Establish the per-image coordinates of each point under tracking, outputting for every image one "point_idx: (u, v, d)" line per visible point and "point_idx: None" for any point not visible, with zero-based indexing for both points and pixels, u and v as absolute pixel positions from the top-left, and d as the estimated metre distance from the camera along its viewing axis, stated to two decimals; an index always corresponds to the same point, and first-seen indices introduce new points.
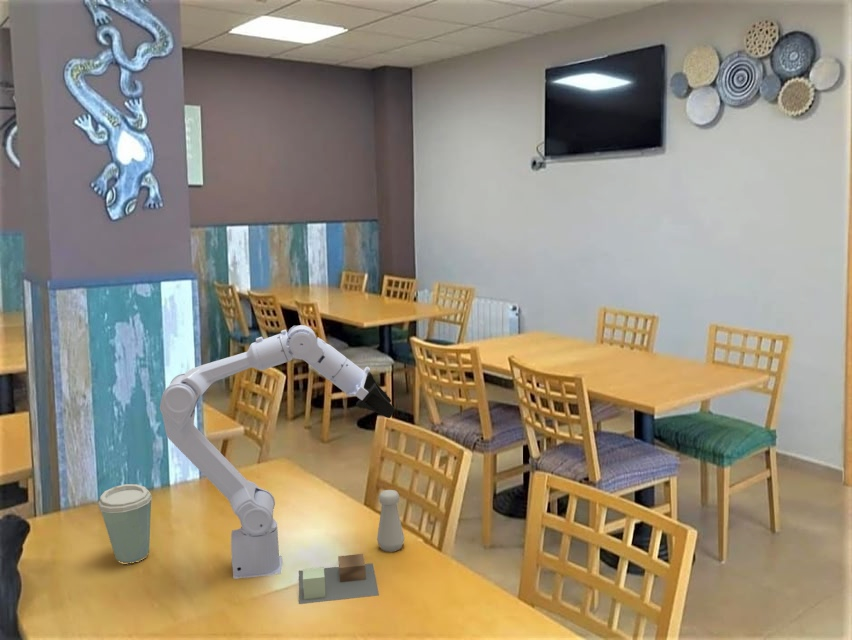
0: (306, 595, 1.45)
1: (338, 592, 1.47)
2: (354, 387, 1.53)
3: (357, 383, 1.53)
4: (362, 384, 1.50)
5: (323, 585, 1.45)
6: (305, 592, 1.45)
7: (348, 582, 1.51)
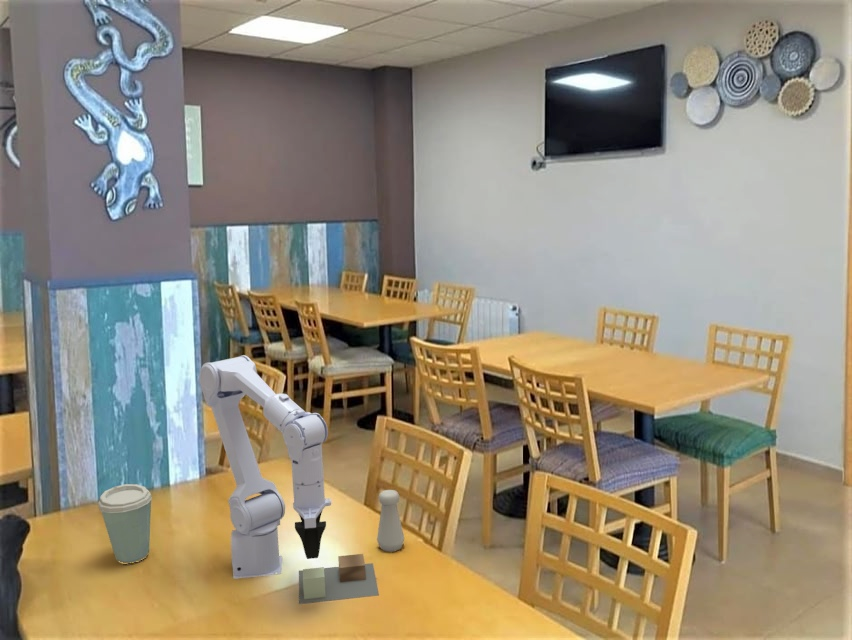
0: (306, 595, 1.45)
1: (338, 592, 1.47)
2: (306, 508, 1.42)
3: (312, 507, 1.42)
4: (317, 514, 1.39)
5: (323, 585, 1.45)
6: (305, 592, 1.45)
7: (348, 582, 1.51)
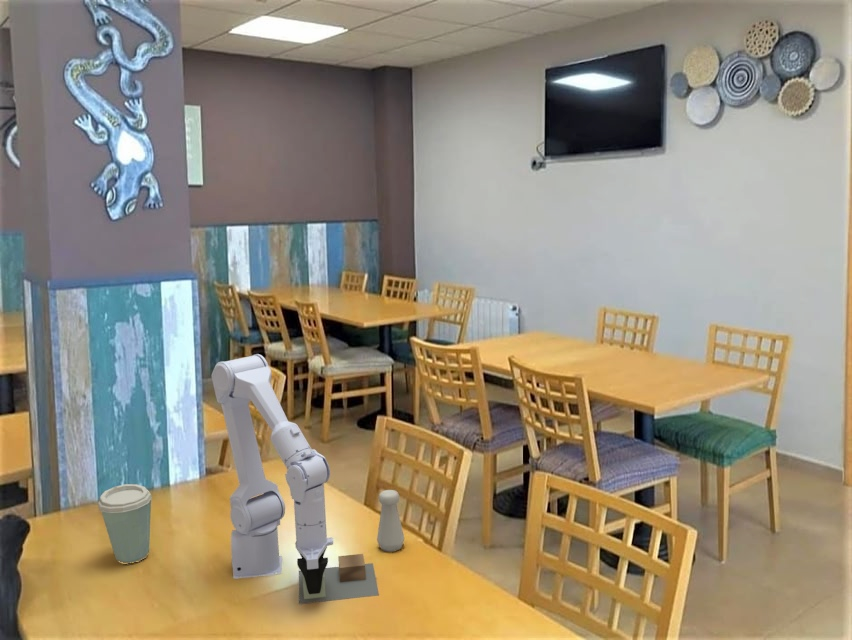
0: (306, 595, 1.45)
1: (338, 592, 1.47)
2: (309, 548, 1.43)
3: (314, 547, 1.43)
4: (319, 555, 1.41)
5: (323, 585, 1.45)
6: (305, 592, 1.45)
7: (348, 582, 1.51)
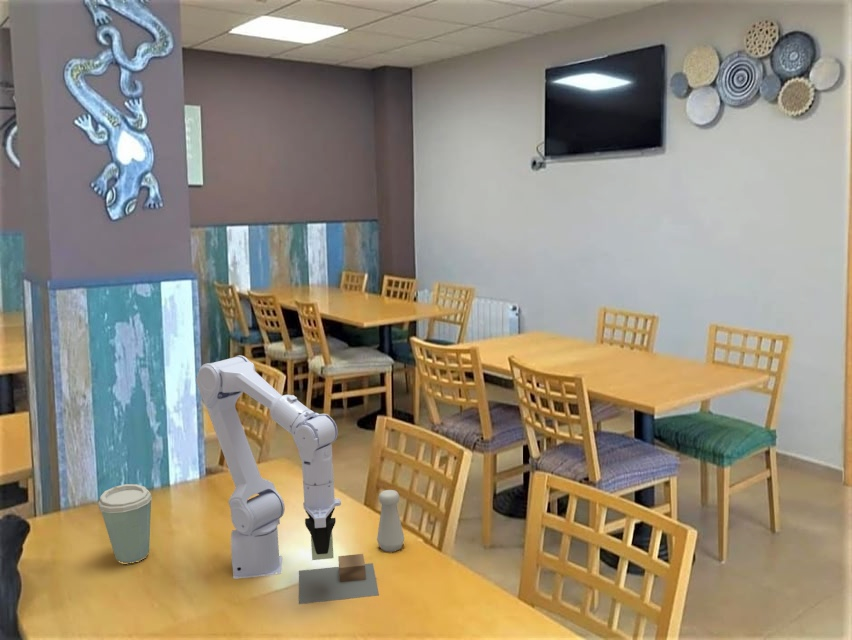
0: (314, 556, 1.46)
1: (338, 592, 1.47)
2: (317, 508, 1.43)
3: (322, 507, 1.43)
4: (327, 514, 1.41)
5: (331, 546, 1.46)
6: (313, 553, 1.46)
7: (348, 582, 1.51)
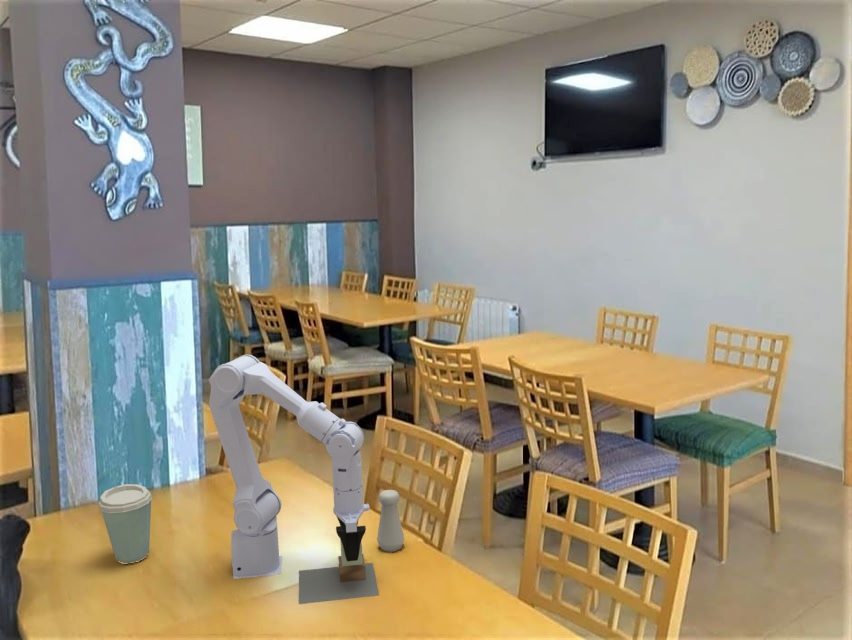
0: (344, 562, 1.51)
1: (338, 592, 1.47)
2: (347, 513, 1.49)
3: (352, 512, 1.49)
4: (357, 519, 1.47)
5: (360, 553, 1.51)
6: (343, 560, 1.51)
7: (348, 582, 1.51)
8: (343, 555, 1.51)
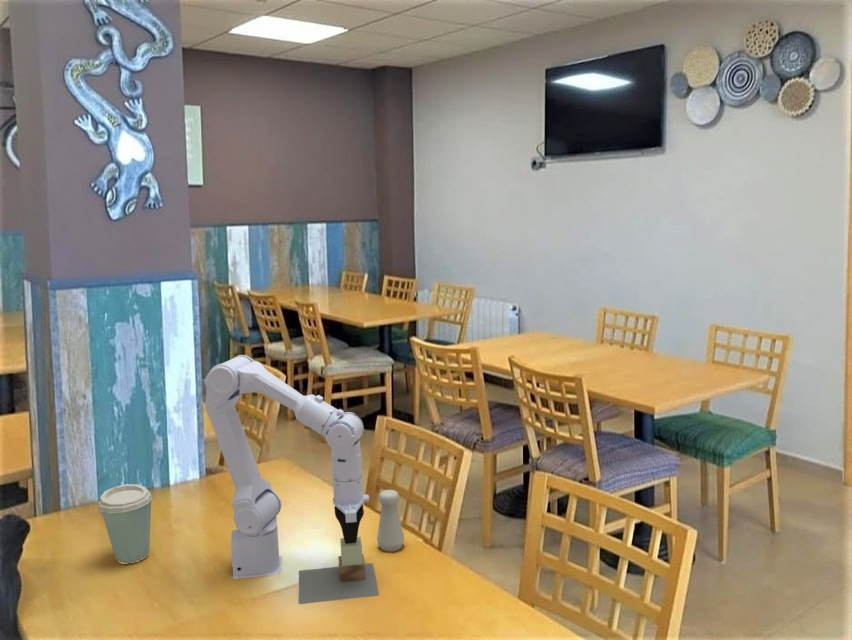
0: (344, 562, 1.51)
1: (338, 592, 1.47)
2: (346, 504, 1.48)
3: (351, 503, 1.49)
4: (357, 510, 1.46)
5: (360, 553, 1.51)
6: (343, 560, 1.51)
7: (348, 582, 1.51)
8: (343, 555, 1.51)
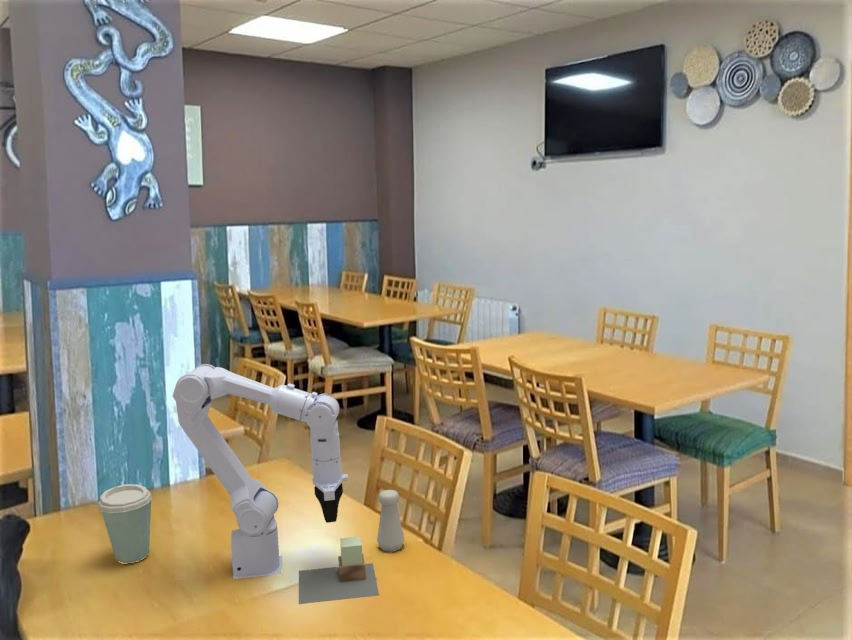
0: (344, 562, 1.51)
1: (338, 592, 1.47)
2: (325, 483, 1.52)
3: (330, 482, 1.52)
4: (335, 488, 1.50)
5: (360, 553, 1.51)
6: (343, 560, 1.51)
7: (348, 582, 1.51)
8: (343, 555, 1.51)
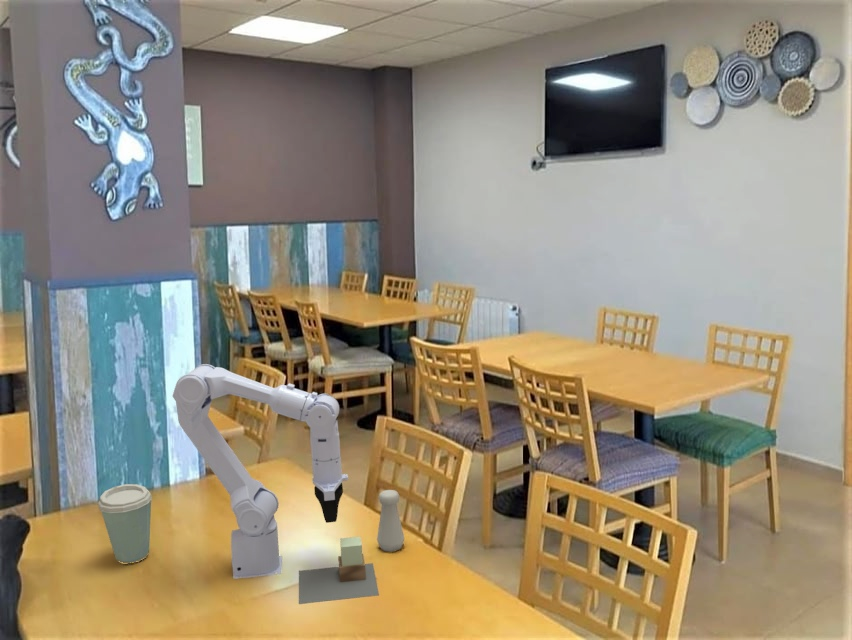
0: (344, 562, 1.51)
1: (338, 592, 1.47)
2: (325, 483, 1.52)
3: (330, 482, 1.52)
4: (335, 488, 1.50)
5: (360, 553, 1.51)
6: (343, 560, 1.51)
7: (348, 582, 1.51)
8: (343, 555, 1.51)
